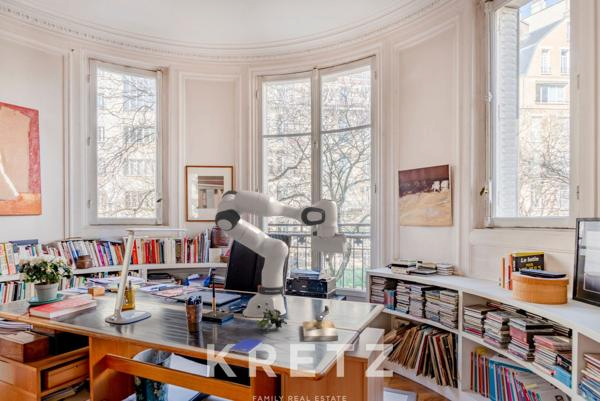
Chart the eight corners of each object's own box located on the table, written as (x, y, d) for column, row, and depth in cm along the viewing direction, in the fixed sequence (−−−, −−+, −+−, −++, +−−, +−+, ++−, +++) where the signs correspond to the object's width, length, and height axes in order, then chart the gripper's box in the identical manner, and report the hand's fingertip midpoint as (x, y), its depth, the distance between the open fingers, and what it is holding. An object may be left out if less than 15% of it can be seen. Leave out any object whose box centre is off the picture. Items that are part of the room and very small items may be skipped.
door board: (304, 341, 155) (304, 327, 155) (302, 325, 176) (302, 313, 176) (338, 340, 156) (338, 327, 156) (332, 324, 177) (332, 313, 177)
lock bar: (321, 320, 163) (321, 313, 164) (314, 320, 165) (314, 312, 165) (330, 313, 176) (330, 305, 176) (324, 312, 177) (324, 305, 177)
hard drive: (248, 351, 142) (262, 340, 154) (229, 348, 145) (245, 337, 157) (248, 355, 142) (262, 344, 154) (229, 352, 145) (245, 341, 157)
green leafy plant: (277, 340, 172) (292, 319, 171) (265, 343, 162) (281, 321, 161) (260, 323, 177) (275, 303, 176) (248, 325, 167) (263, 304, 166)
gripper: (349, 233, 176) (350, 263, 176) (317, 231, 191) (317, 259, 190) (341, 234, 172) (341, 264, 172) (308, 232, 186) (309, 260, 186)
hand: (328, 261), depth 181 cm, fingers closed
